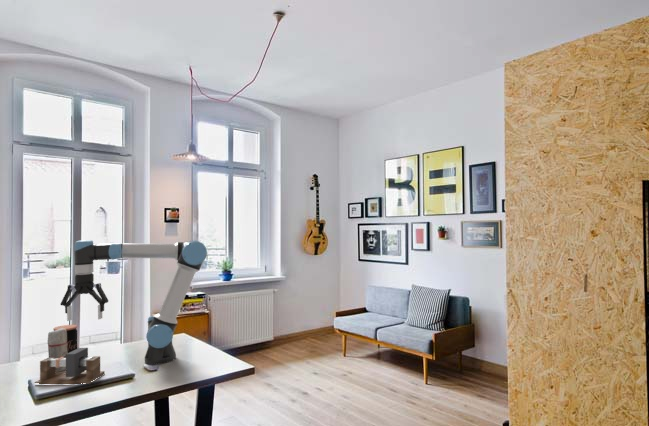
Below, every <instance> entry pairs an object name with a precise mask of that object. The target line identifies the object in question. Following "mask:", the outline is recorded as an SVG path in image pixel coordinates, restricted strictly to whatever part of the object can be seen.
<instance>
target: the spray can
mask: <svg viewBox="0 0 649 426" xmlns="http://www.w3.org/2000/svg"><path fill="white" fill-rule="evenodd" d="M47 347H48V348H47V350H48V351H47V352H48V358H49V357H56V358H60V357H64V358H66V354H67V353H68V349H67V331H66V329H64V328H60V329H57V330H55V331H54V330H53V331H49V332H48V334H47ZM65 371H66V367H59V368H56V372H65Z"/></svg>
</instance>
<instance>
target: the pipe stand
mask: <svg viewBox="0 0 649 426" xmlns="http://www.w3.org/2000/svg"><path fill="white" fill-rule="evenodd" d="M93 357H94V358H93V359H91V358H90V359H88V360H86V371H84V372H82V373H81V374H79V375H77V376H75V377H66V371H59V372H56V367H49V360H50V359H51V358H56V357H49V356H48V357H47V358H44V359H42V360H40V361H39V379H38V380H36V381H34V383H39V384H81V383H82V384H83V383H86V384H89V383H90V382H91V381H93V380H95V379H96V378H98V377H100V376H101V377H103V376H104V375H105V370H103V371H102V370H101V356H100V355H95V356H94V355H93ZM103 374H104V375H103ZM102 375H103V376H102ZM101 377H100V378H101ZM98 379H99V378H98ZM96 380H97V379H96ZM96 380H95V381H96ZM93 382H94V381H93ZM90 384H91V383H90ZM90 384H89V385H90Z"/></svg>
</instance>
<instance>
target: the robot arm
mask: <svg viewBox="0 0 649 426" xmlns="http://www.w3.org/2000/svg"><path fill="white" fill-rule="evenodd" d="M207 255H208V250H207V247H206V246H205V245H204V243H202V242H200V241H199V240H198V241H197V240H189V241H182V242H181V241H178V242H176V243H135V242H134V243H130V242H129V243H125V242H124V243H121V242H119V243H118V242H109V243H98V244H97V243H94V241H93V240H91V239H90V240H77V241H75V243H74V274H75V275H74V284H72V283H71V284H68V285H67V290H66V291H65V294H64V296H63V297H62V300H61V302H60V306H62V307H63V306H64V311H65V312H64V313H65V314H66V317H67V318H66V320H67V322H70V321H72V320H73V306H72V305H71V304H73V302H74V300H75V299H77V297H78V296H79V295H87V294H88V295H90V296H92V297H93V299H94V300H95V301H96V302H97V303H98V304H97V319H98V320H101V319H103V312H104V311H105V304H107V303H109V299H108V297H107V295H106V294H105V292H104V290H103V288H102V283H101V282H98V283H94V281H95V280H94V279H95V278H94V273H93V272H94V261H102V260H103V261H106V260H120V259H175V261H176V264H177V266H178V268H177V270H176V272H175V275H174V277H173V279H172V282H171V284H170V287H169V289H168V292H167V293H166V295H165V299H164V301H163V302H162V304H161V307H160V309H159V312H158V313H156V314H154V315H151V316H148V318H147V333H146V336H145V337H146V342H147V350H146V352H145V355H144V363H145V364H147V365H162V364H167V363H171V362H173V361H175V360H176V358H177V354H176V350H175V348H174V344H173V338H174V333H175V330H176V328H177V326H178V323H179V322H178V320H177V317H178V314H179V312H180V310H181V308H182V304H183V303H184V301H185V298H186V295H187V294H188V291H189V288H190V286H191V284H192V281H193V279H194V276H195V274H196V273H197V272H200V270H201V268H202V265H203V263H204V261H206V259H207ZM94 288H95V289H96V290H95V289H94ZM73 290H75V291H74V293H73V294H72V292H73ZM96 291H97V292H96ZM70 296H71V297H70Z"/></svg>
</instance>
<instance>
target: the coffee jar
mask: <svg viewBox="0 0 649 426" xmlns="http://www.w3.org/2000/svg"><path fill="white" fill-rule="evenodd" d="M60 328H64V329H66V331H67V349H68V353H69V352H72V351H74V350H76V349H78V330H77V328H78V325H77V324H66V325H64V324H63V325H60V326H55V327H54V328H53V331H55V330H57V329H60Z"/></svg>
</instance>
